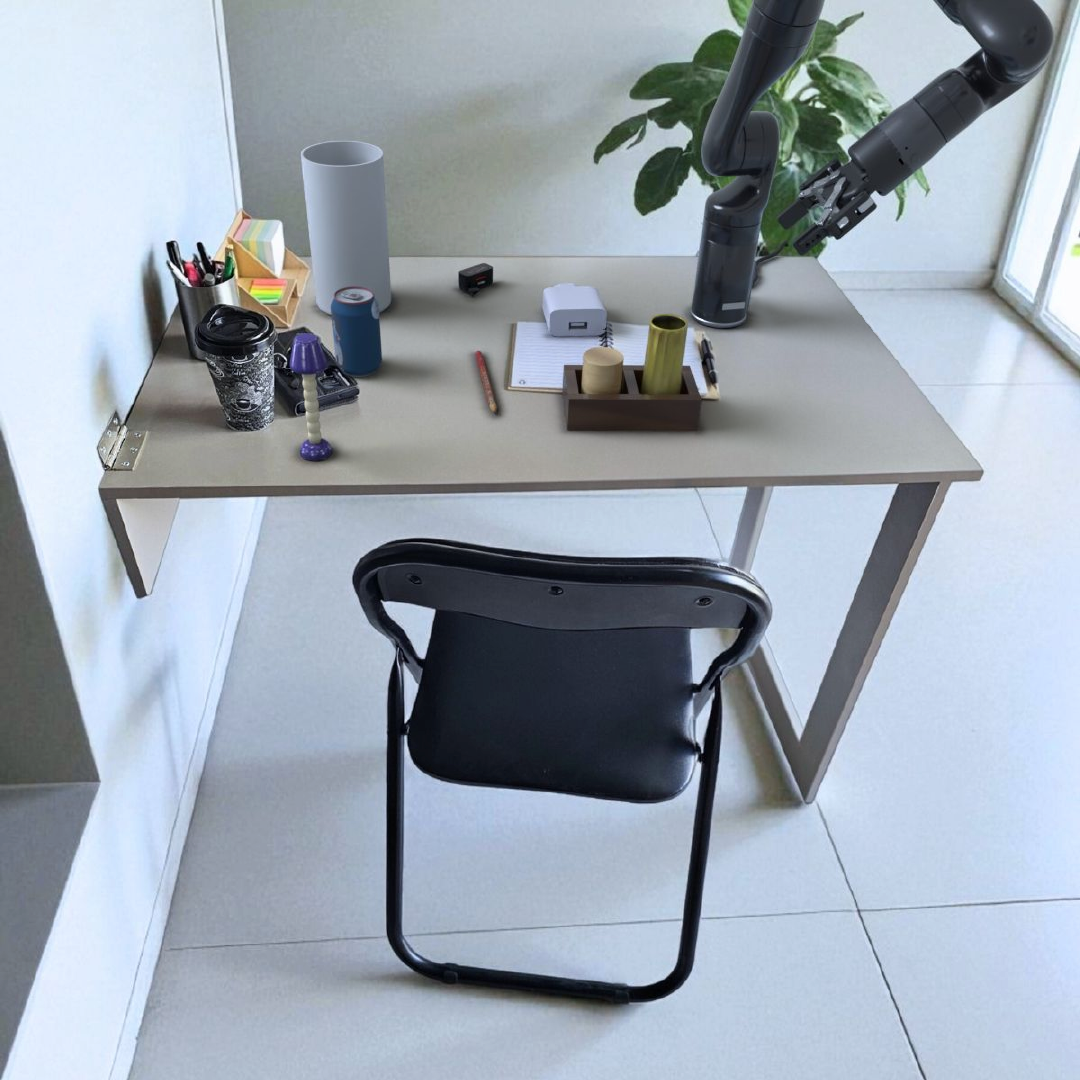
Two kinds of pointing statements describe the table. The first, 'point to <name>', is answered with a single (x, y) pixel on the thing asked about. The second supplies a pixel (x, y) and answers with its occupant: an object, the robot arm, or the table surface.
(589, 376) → the peg
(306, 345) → the toy lamp
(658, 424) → the rack
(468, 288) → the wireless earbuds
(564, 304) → the charger
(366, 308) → the soda can
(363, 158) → the cylinder vase
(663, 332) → the vase
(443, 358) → the table surface
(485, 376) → the pencil
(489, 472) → the table surface
